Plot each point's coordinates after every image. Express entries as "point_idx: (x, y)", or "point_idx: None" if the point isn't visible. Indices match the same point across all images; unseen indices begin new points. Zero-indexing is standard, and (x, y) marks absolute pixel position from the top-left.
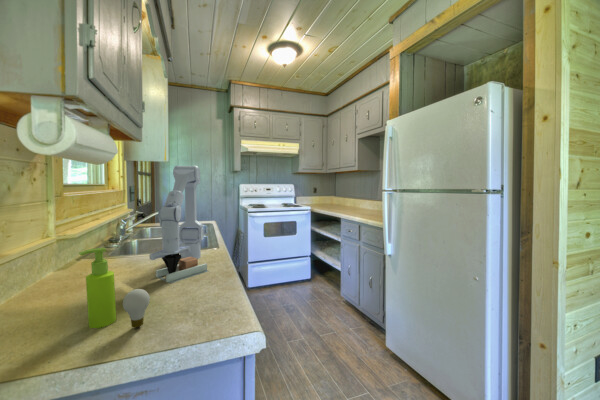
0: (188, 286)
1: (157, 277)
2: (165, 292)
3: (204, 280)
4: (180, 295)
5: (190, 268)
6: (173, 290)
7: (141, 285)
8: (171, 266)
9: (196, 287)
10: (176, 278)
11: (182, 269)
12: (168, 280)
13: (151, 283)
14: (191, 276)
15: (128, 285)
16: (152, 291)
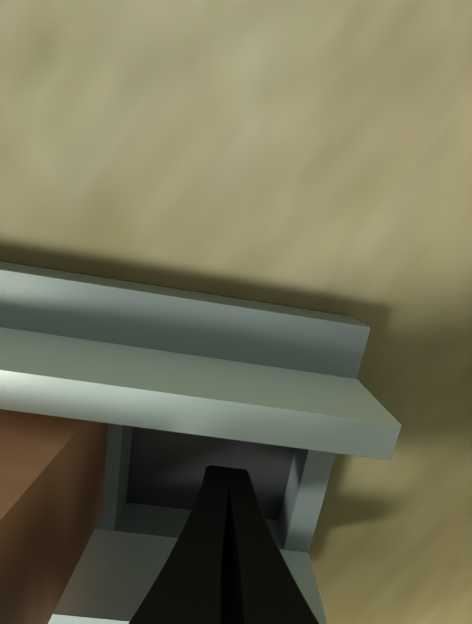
0: (253, 179)
1: (308, 553)
2: (450, 260)
3: (47, 156)
4: (459, 49)
5: (26, 381)
6: (388, 232)
7: (406, 544)
8: (278, 585)
9: (231, 67)
10: (261, 370)
11: (82, 493)
12: (354, 385)
13: (348, 520)
14: (111, 292)
15: (439, 609)
16: (469, 378)
